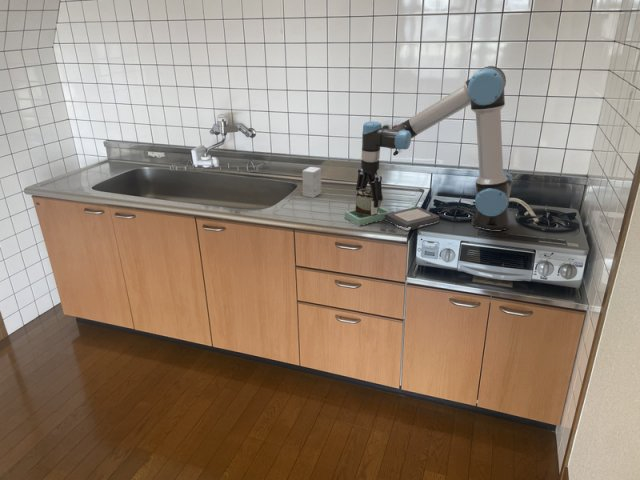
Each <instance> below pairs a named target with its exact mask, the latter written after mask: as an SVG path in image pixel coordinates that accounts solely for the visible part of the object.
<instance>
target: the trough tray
mask: <svg viewBox="0 0 640 480" xmlns="http://www.w3.org/2000/svg"><path fill="white" fill-rule="evenodd" d="M388 213H392V211H391V210H387V209H386V208H384V207H382V206H380V208H379V211H378V213H377V215H373V216H369V215H364V214H358V213H355V209H351V210H347V211H344V219H345V218H346V219H345V220H347V219H348V220H347V221H349V220H350V221H349V222H351V221H352V222H354V223H356V224H358V225H363V224H367V223H371V224H373V223H372V222H375V223H377V222H376V221H379V222H381V221H380V220H383V221H385V220H384V219H385V217H386V214H388ZM352 222H351V223H352ZM354 223H353V224H354ZM356 224H355V225H356ZM358 225H357V226H358ZM367 225H368V224H367ZM363 226H364V225H363Z"/></svg>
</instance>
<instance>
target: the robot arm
mask: <svg viewBox="0 0 640 480" xmlns="http://www.w3.org/2000/svg"><path fill="white" fill-rule="evenodd" d="M506 84H507V80H506V75H505V72H504V71H503V70H502V69H500V68H499V67H497V66H494V65H493V66H490V65H488V66H484V67H483V68H481V69H479V70H477V72H474V73H473V75H472V76H471V77H470V78H469V79H468V80H466V81H465V82H464V84H463V85H462V86H461V87H459V88H457V89H456V90H454V91H453V92H451V93H450V94H448V95H446V96H444V97H443V98H441V99H439V100H438V101H436V102H434V103H433V104H431V105H429V106H428V107H426V108H424V109H422V111H419V112H418V113H416V114H414V115H413V116H411V117H410V118H409V119H407V120H405V121H403V122H401V123H400V124H398V125H397V126H396V127H394V128H386V127H385V128H384V127H382V123H381V122H379V121H374V120H373V121H366V122H364V123H363V127H362V133H361V134H362V137H361V138H362V139H361V140H362V141H361V143H362V144H361V155H360V156H361V157H360V158H361V163H360V168H361V169H358V170H357V181H356V188H355V190H356V192H357V191H358V190H360V189H365V188H367V185H369V186H370V189H371V191H372V196H373V200H372V204H371V215H374V214H377V207H378V201H379V200H382V196H383V190H382V181H383V180H382V176H379V175H378V170H380V155H381V154H380V153H381V148H385V149H386V148H387V149H393V150H394V149H396V150H408V149H409V148H410V145H411V144H412V143H411V142H412V139H413V138H415V137H416V136H418V135H419V134H421V133H423V132H425V131H427V130H428V129H430V128H432V127H433V126H436V125H437V124H439V123H441V122H442V121H444V120H446V119H448V118H450V117H451V116H453V115H454V114H457V113H458V112H460V111H462V110H463V109H464V108H466V107H468V106H470V109H471V111H472V112H473V113H475V124H476V141H477V157H478V159H477V160H478V174H479V175H478V177H477V178H476V180H475V194H476V195H475V198H474V204H475V208H476V209H475V212H474V214H473V216H472V218H471V224H472V223H473V224H474V225H475V226H477V227H481V228H484V229H490V230H504V229H507V228H508V227H509V228H510V224H511V223H510V219H509V211H508V208H509V203H510V197H511V196H510V195H511V190H512V184H513V175H512V173H509V172H505V171H504V162H503V161H504V160H503V140H502V137H503V136H502V117H501V116H502V115H501V113H502V112H501V110H502V109H503V108H504V107H505V106H506V104H505V103H506V102H505V100H506V99H505V87H506ZM375 197H376V198H375ZM382 201H383V200H382ZM509 228H508V229H509ZM508 229H507V230H508Z"/></svg>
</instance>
